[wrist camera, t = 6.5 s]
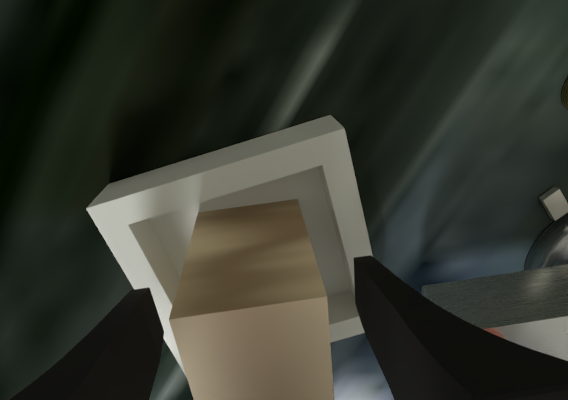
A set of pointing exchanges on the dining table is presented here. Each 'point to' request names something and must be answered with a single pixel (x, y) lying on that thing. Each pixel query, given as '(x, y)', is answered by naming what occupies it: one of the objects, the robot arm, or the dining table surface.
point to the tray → (236, 193)
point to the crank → (513, 306)
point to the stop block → (253, 307)
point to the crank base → (552, 225)
